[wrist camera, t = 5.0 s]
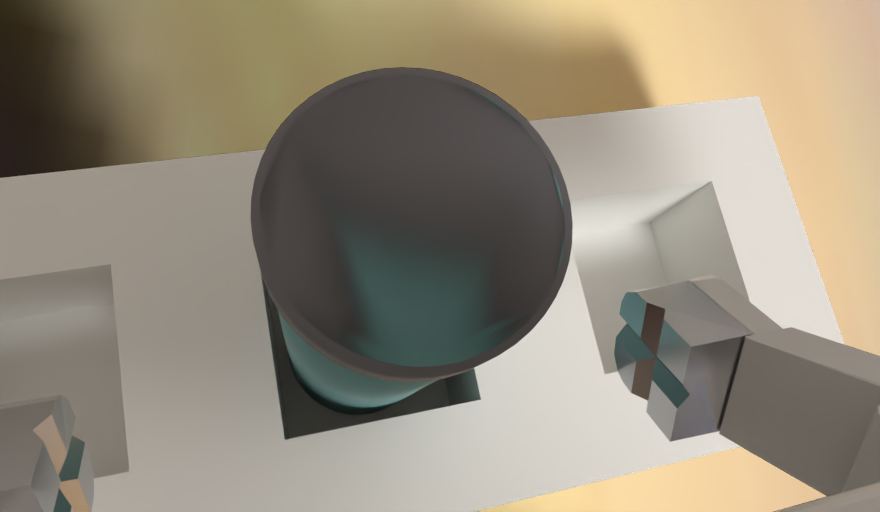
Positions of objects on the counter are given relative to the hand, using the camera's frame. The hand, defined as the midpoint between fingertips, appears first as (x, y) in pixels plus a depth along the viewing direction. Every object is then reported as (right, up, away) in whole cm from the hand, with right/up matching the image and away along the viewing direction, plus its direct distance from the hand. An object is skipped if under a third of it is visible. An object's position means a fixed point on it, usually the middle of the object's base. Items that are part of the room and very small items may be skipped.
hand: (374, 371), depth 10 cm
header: (-1, -1, +10) cm, 10 cm away
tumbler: (-1, -1, +9) cm, 9 cm away
